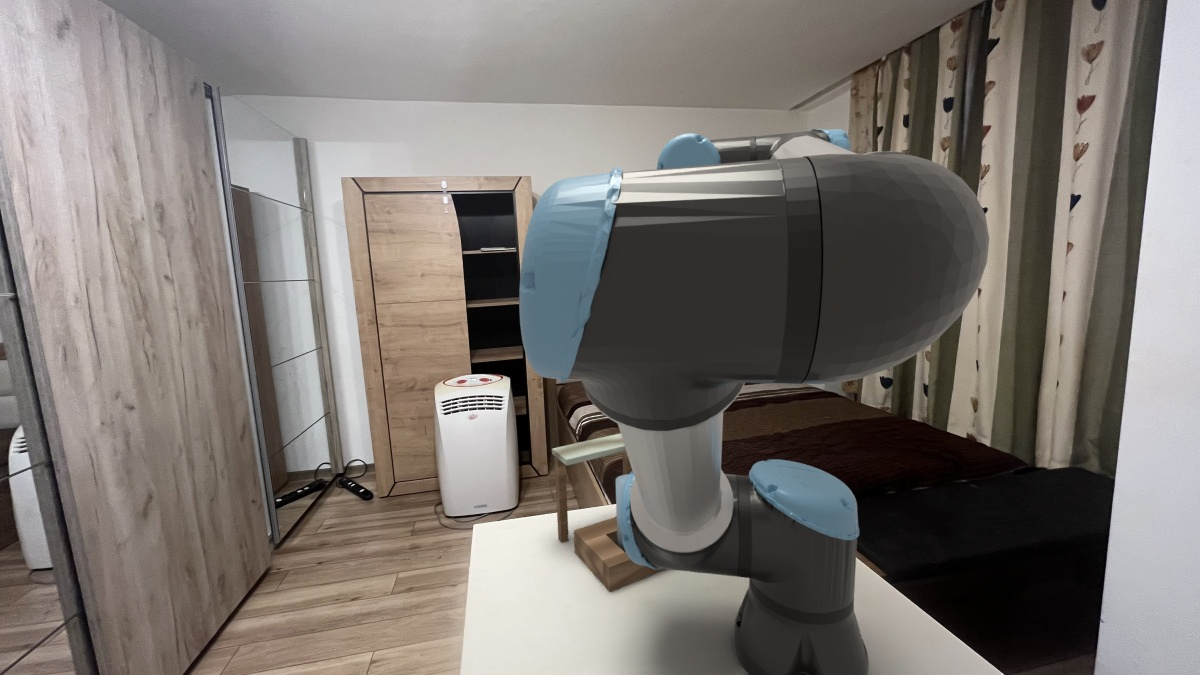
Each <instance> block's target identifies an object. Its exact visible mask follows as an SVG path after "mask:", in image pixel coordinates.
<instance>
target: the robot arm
mask: <svg viewBox="0 0 1200 675" xmlns="http://www.w3.org/2000/svg"><path fill="white" fill-rule="evenodd" d="M851 148H852V147H851V142H850V140H849V136H848V134H847V132H846V131H845V130H843V129H840V128H836V129H835V128H834V129H833V128H831V129H824V128H813V129H811V130H808V131H796V132H785V133H775V134H765V135H757V136H755V135H753V136H751V135H750V136H740V137H729V138H717V139H709V138H708V137H705V136H703V135H701V134H698V133H694V132H692V133H691V132H688V133H682V134H679V135H677V136H676V137H674V138H672V139H671V140H669V141H668V143H666V144H665V146H663V148H662V150H661V152H660V153H659V154H658V155H659V156H658V159H657V164H656V168H655V169H647V170H646V169H645V170H637V171H636V170H635V171H634V170H633V171H623V167H613V168H612V169H611V170H610V172H604V173H597V174H589V175H582V176H574V177H573V176H572V177H567V178H563V179H560V180H557V181H555V182H554V183H552V184H551V185H550V186H548V188H547V189H546V190H545V191H544V192H543V193H542V194H541V195H540V198H539V199H538V201H537V203H536V205H535V207H534V209H533V211H532V213H531V217H530V219H529V223H528V226H527V229H526V230H527V231H526V234H525V239H524V244H523V249H522V256H521V265H520V278H519V279H520V280H519V304H518V306H519V325H520V334H521V340H522V344H523V345H522V346H523V350H524V352H525V356H526V359H527V362H528V364H529V366H530V368H531V369H532V370H533V371H534V372H535V373H536V374H537V375H538V376H540V377H542V378H544V379H555V380H557V382H558V383H566V382H567V381H568V380H580V383H581V385H582V388H583V390H584V391H585V394H586V396H587V397H588V399H589V400H590V401H591V403H592V405H593V406H594V407H595V408H596V409H597V410H598V411H599V412H601V414H603V415H604V416H605V417H606V418H608V419H609V420H610V421H613V422H615V423H616V424H617V426H618V429H619V432H620V433H621V436H622V439H623V442H624V445H625V448H626V451H627V455H628V458H629V461H630V464H631V467H632V470H633V471H632V472H631V473H630V475H628V476H627V478H626V480H625V483H624V486H623V491H622V497H621V507H620V525H621V532H622V533H623V538H622V540H623V545H624V548H625V551H626V553H627V555H628V557H629V558H630V559H631V560H632V561H633V562H634V563H636V564H638V565H643V566H648V567H650V568H652V569H657V570H658V569H665V570H670V571H678V572H679V571H681V572H690V573H697V574H698V573H700V574H701V573H702V574H709V575H710V574H711V575H717V576H719V575H720V576H728V577H736V578H745V579H749V584H748V586H747V590H746V592H745V594H744V597H743V600H742V602H741V604H740V606H739V609H738V611H737V614H736V617H735V620H734V630H733V646H734V651H735V653H736V654H735V655H736V657H737V659H738V661H739V663H740V664H741V666H742V667H743V669H744V670H745V671H746V673H747V674H748V675H869V664H870V663H869V655H868V650H867V646H866V645H865V642H864V639H863V637H862V634H861V629H860V626H859V622H858V620H857V616H856V613H855V609H854V608H855V606H854V604H855V602H854V601H855V587H856V586H855V584H856V565H857V548H858V547H857V545H858V537H859V536H860V527H859V517H858V515H859V514H858V502H857V500H856V497H855V494H853V491H852V490H851V489H850V488H849V486H848V485H846V483H845V482H843V481H842V480H841V479H839V478H837V477H836V476H834V475H833V474H830V473H829V472H827V471H824V470H822V469H821V468H820V469H819V468H817V467H814V466H812V465H809V464H808V465H807V464H805V463H801V462H797V461H792V460H785V459H767V460H761V461H757V462H755V463H754V464H753V465H752V467H751V469H750V470H749V473H748V475H741V474H740V475H738V474H731V473H730V474H729V473H724V471H723V470H722V450H723V430H724V429H723V428H724V427H723V425H724V424H723V423H724V422H723V421H724V412H725V411H726V410H727V409H728V408H729V407H730V405H732V404H733V402H734V401H735V400H736V399H737V397H738V396H739V395H740V394H741V391H742V390H743V388H744V386H745V384H790V385H791V384H794V385H795V384H796V385H797V384H798V385H799V384H800V385H825V384H827V385H828V384H838V383H847V382H851V381H854V380H860V379H863V378H866V377H869V376H873V375H875V374H878V373H881V372H883V371H886V370H889V369H891V368H893V367H896V366H898V365H901V364H902V363H904V362H906V361H907V360H910V358H913V357H914V356H915V355H917V354H919V352H922V351H923V350H924V349H926V348H927V347H928V346H930V345H931V344H933V343H934V342H935V341H937V340H938V339H940V338H941V336H942V335H943V334H945V332H946V331H947V330H948V329H949V328H950V327H951V326H952V325H953V324H954V323H955V322H956V321H957V320H958V319H959V317H961V315H962V314H963V313H964V312H965V310H966V308H967V307H968V305H969V303H970V302H971V300H972V298H973V297H974V295H975V294H976V292H977V291H978V288H979V286H980V284H981V280H982V277H983V275H984V272H985V269H986V266H987V265H988V264H987V262H988V256H989V248H990V247H989V245H990V234H989V228H988V223H987V216H986V213H985V211H984V209H983V207H982V205H981V203H980V200H979V199H978V197H977V195H976V193H975V192H974V191H973V190H972V188H970V187H969V185H968V184H967V183H966V182H965V180H964V179H963V178H962V177H960V175H958V174H956V173H954V171H951V170H950V169H949V168H947V167H946V166H944V165H941V164H939V163H937V162H935V161H932V160H930V159H927V158H923V157H920V156H915V155H912V154H910V153H909V154H908V153H905V152H902V151H892V150H883V151H880V150H879V151H871V152H865V153H856V152H853V151H851V150H852V149H851Z"/></svg>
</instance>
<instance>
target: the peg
mask: <svg viewBox="0 0 1200 675" xmlns="http://www.w3.org/2000/svg"><path fill="white" fill-rule="evenodd" d="M628 475H630V474H626V475H623V474H622V475H619V476H617V477H616V478H615V502H616V504H615V506H616V517H617V546H619V547H620V548H621V549H622V550H623V551H624V552H626V551H625V548H624V545H623V540H622V538H623V533H622V532H621V525H620V507H621V497H622V491H623V486H624V483H625V480H626V478H627V476H628Z"/></svg>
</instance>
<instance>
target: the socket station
mask: <svg viewBox="0 0 1200 675" xmlns="http://www.w3.org/2000/svg"><path fill="white" fill-rule="evenodd" d="M619 453H622V475H626V474H630V473H631V472H632V471H633V470H632V467H631V464H630V461H629V458H628V455H627V451H626V448H625V445H624V442H623V439H622V436H621V432H620V433H616V434H611V435H606V436H603V437H599V438H595V439H594V438H593V439H589V440H584V441H579V442H576V443H572V444H567V445H563V446H557V447H554V448H551V454H552V455H553V456H554V474H555V491H556V492H555V494H556V495H555V497H556V498H555V499H556V517H557V535H558V536H557V537H558V538H557V539H558V540H559V541H560V543H565V542H569V520H568V517H569V515H568V514H569V513H568V496H567V495H568V493H567V492H568V491H567V472H566V470H567V469H566V468H567V467H566V466H571V465H575V464H579V463H584V462H588V461H591V460H595V459H598V458H599V459H600V458H603V457H607V456H611V455H615V454H619ZM573 546H574V554H576V555H577V557H578V558H579V559H580V560H581V561H582V562H583V564H584V565H585V566H586V567H587V568H588V570H590V571H591V573H592V574H593V575H594V576H595V577H596V579H598V580H599V582H600V583H601V584H602V585H603V586H604V587H605V589H607V591H608V592H609V593H612V592H613V591H616V590H618V589H621V588H623V587H626V586H628V585H631V584H634V583H635V582H638V581H641V580H643V579H646V578H649V577H650V576H653V575H655V574H657V573H660V572H663V571H665V570H666V569H658V570H657V569H652V568H650V567H648V566H643V565H638V564H636V563H634V562H633V561H632V560H631V559H630V558H629V557H628V555H627V553H626V552H624V551H623V550H622V549H621V548H620V547H619V546H617V516H615V517H610V518H608V519H605V520H602V521H599V522H595V523H592V524H590V525H585V526H583V527H580V528H576V529H574V530H573Z"/></svg>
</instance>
